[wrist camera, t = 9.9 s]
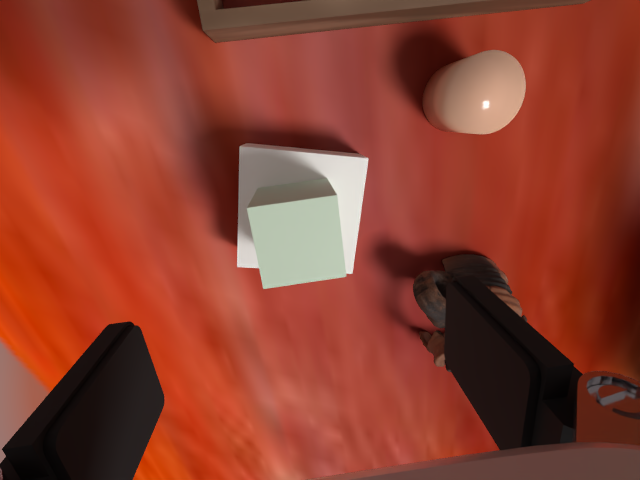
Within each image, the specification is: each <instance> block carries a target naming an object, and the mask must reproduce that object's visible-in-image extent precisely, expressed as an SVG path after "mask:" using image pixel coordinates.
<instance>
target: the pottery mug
mask: <svg viewBox="0 0 640 480" xmlns="http://www.w3.org/2000/svg"><path fill="white" fill-rule="evenodd" d="M442 263H443V265H444V269H445V272H444V271H433V270H430V271H423V272H422V273H421V274H419V275H418V276H417V277H416V279H415V282H414V284H413V292H414V296H415V299H416V301H417V303H418V305H419V307H420V308H421V309H422V310H423V312H424V313H425V314H426V315H427V317H428V319H429V320H430V321H431V322H432V323H433V325H434V326H436V327H438V328H444V327H445V313H446V286H447V284H448V283H451V281H452V279H453V278H454V277H460V276H467V275H473V276H475V277H476V278H477V279H478V280H480V281H481V282H482V283H483V284H484V285H485V286H486V287H488V288H489V289H490V290H491V291H492V292H493V293H494V294H495V295H497V296H498V297H499V298H500V299H501V300H502V301H503V302H504V303H506V304H507V305H508V306H509V307H510V308H511V309H512V310H514V311H515V312H516V313H517V314H518V315H519V316H520V317H521V314H522V309H521V307H520V304H519V301H518V300H517V299H516V298H515V297H513V296H512V295H511V294H512V291H511V290H510V287H509V285H507V283H508V279H507V277H506V275H505V274H504V273H503V272H502V271H501V270H500V269H499V268H498V267H497V266H496V264H495V263H494V262H493V261H492V260H490V259H488V258H486V257H484V256H479V255H475V254H463V255H456V256H452V257H448V258H445V259H443V260H442ZM521 318H523V319H524V320H525V321H526V322H527V319H526V317H525V316H524V315H523V316H522V317H521ZM419 335H420V339H421V340H422V342H423V345H424V346H425V347H426V348H427V350H428V351H429V352H431V353H432V354H433V355H434V363H435V365H436V366H438V367H439V366H442V367H443V366H444V365H445V364H446V369H447V371H449V372H451V370H450V369H449V367H448V366H447V363H446V361H445V356H444V345H445V333H444V334H443V333H441V332H440V331H438V330H436V331H435V332H434V333H433V335H432V336H431V335H430V333H428V332H424V331H420V332H419ZM444 361H445V362H444Z"/></svg>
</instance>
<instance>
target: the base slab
mask: <svg viewBox="0 0 640 480" xmlns="http://www.w3.org/2000/svg"><path fill="white" fill-rule="evenodd" d="M367 166H368V158H367V157H365V156H363V155H361V154H358V153H347V152H337V151H326V150H315V149H305V148H294V147H284V146H273V145H263V144H252V143H246V144H243V145H241V146H239V198H238V249H237V267H247V268H259V265H258V260H257V255H256V250H255V245H254V240H253V236H252V231H251V226H250V221H249V216H248V211H247V207H248V205H249V203H250V201H251V199H252V198H253V196H254V194H255V192H256V190H257V189H258V188H261V187H268V186H275V185H282V184H289V183H296V182H303V181H310V180H317V179H325V178H327V179H328V180H329V182H330V184H331V185H332V187H333V189H334V191H335V192H336V194H337V198H338V207H339V216H340V225H341V233H342V242H343V251H344V260H345V269H346V273H347V274H352V273H353V266H354V258H355V251H356V244H357V237H358V230H359V223H360V216H361V208H362V201H363V194H364V187H365V180H366V173H367Z"/></svg>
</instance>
